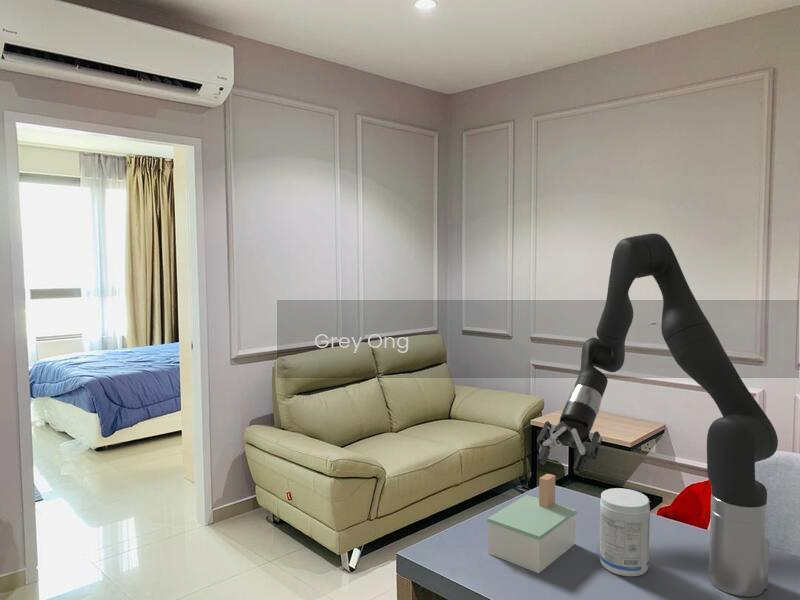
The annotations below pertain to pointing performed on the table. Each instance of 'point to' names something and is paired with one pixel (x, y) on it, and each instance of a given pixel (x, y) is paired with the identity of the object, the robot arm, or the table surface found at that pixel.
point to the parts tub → (531, 545)
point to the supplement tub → (624, 531)
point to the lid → (534, 512)
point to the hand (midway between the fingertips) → (558, 467)
